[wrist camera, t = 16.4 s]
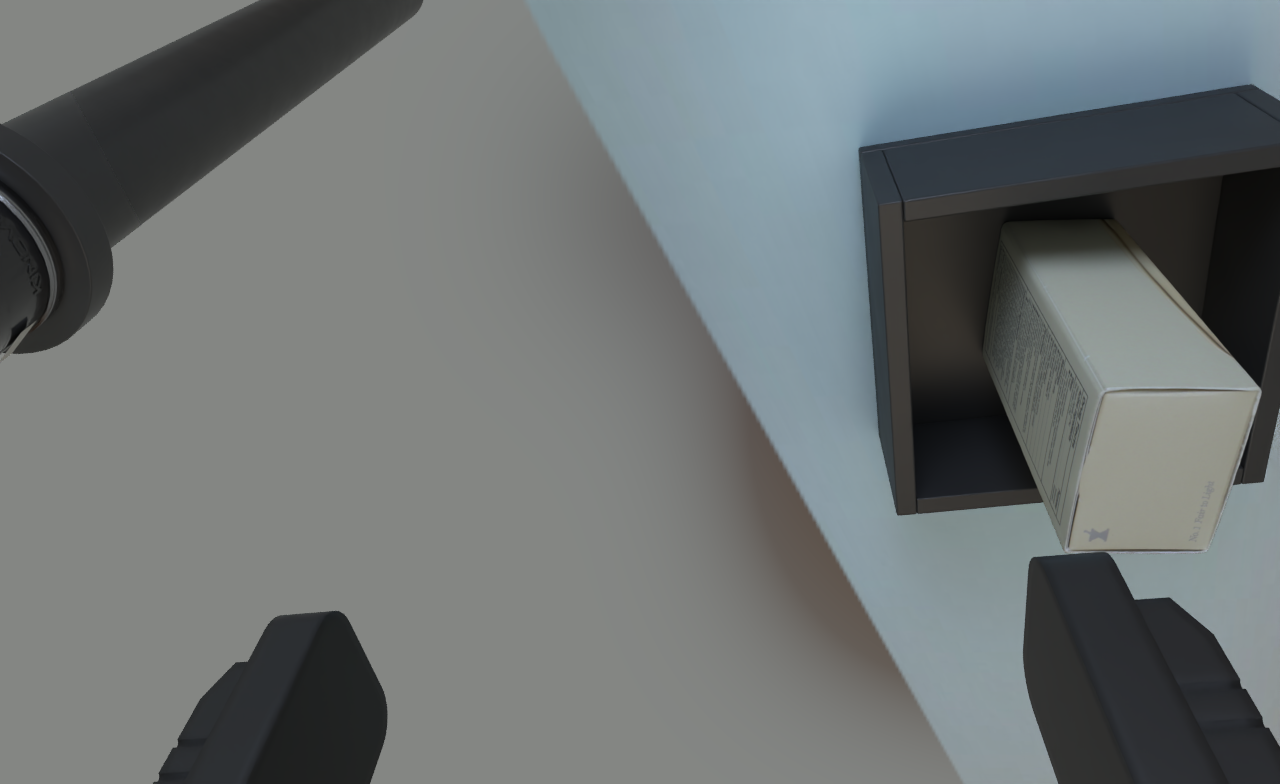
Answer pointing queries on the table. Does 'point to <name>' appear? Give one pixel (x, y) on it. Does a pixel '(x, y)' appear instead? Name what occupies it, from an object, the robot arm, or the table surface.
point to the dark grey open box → (1059, 190)
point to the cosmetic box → (1113, 389)
